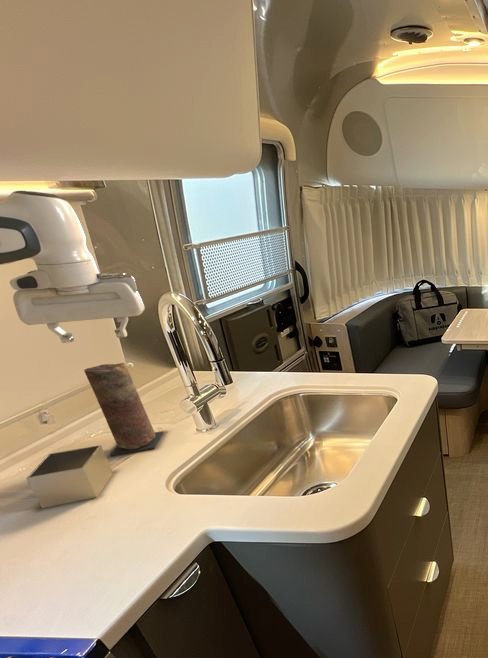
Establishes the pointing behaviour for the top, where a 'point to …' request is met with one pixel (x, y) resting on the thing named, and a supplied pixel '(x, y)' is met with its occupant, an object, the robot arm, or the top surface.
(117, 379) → the candle
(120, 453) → the mat
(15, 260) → the robot arm
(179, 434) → the top surface
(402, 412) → the top surface
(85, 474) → the beige open box
